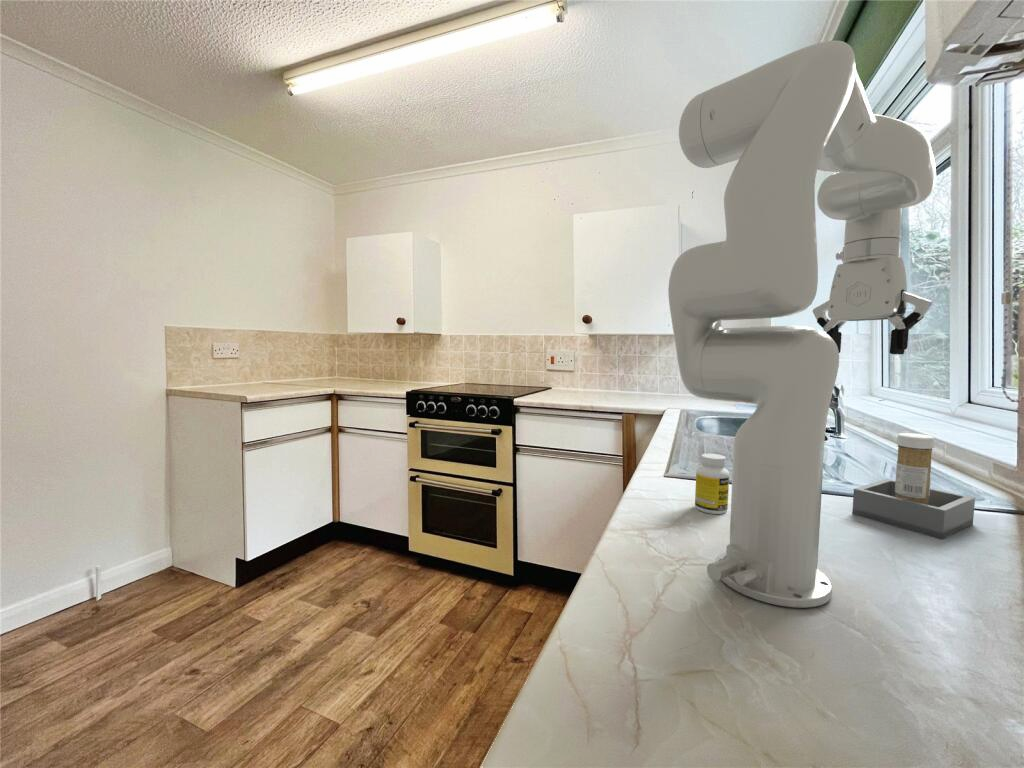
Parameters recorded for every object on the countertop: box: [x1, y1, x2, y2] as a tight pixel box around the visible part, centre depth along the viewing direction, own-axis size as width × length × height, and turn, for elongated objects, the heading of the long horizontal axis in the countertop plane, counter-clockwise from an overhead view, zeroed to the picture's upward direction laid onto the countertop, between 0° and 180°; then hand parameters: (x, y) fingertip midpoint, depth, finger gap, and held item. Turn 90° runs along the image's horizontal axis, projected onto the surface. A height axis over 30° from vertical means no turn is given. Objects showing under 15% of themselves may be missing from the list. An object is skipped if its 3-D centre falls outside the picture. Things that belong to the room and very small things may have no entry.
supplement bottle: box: [694, 453, 730, 515], centre depth 81 cm, size 5×5×10 cm
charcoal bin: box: [851, 478, 976, 540], centre depth 77 cm, size 12×12×4 cm
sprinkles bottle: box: [895, 432, 935, 505], centre depth 76 cm, size 5×5×14 cm
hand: (863, 353), depth 79 cm, fingers open, 9 cm apart
